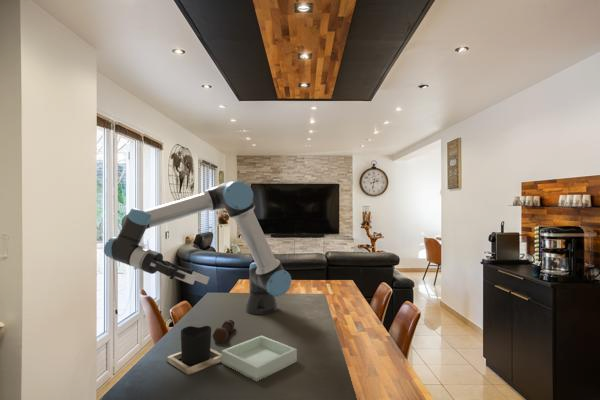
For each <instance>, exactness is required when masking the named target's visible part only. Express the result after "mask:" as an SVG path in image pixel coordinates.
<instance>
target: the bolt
mask: <svg viewBox="0 0 600 400" xmlns="http://www.w3.org/2000/svg"><path fill="white" fill-rule="evenodd" d="M234 328H235V322H234V320H233V319H228V320H225V321H224V322H223V324H222V325H221V326H220V327H216V329H215V330H214V332H213V333H212V334H211V337H212V338H213V340H214V342H215V343H219V344H222V343H225V342H226V341H227V339H228V337H229V334H230V333H232V331H233V330H234Z"/></svg>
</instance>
